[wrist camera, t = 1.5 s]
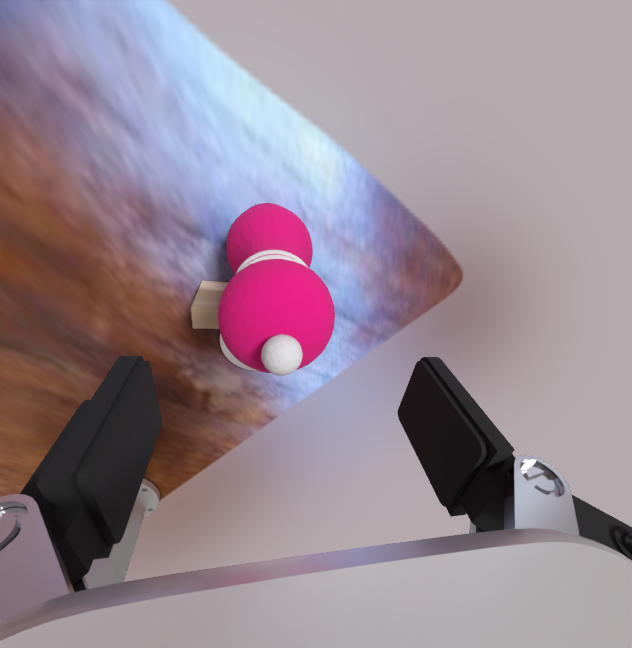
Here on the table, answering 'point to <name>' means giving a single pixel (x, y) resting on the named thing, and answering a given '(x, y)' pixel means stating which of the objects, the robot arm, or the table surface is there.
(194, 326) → the oak rail
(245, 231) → the pepper mill
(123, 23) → the table surface
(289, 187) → the table surface
